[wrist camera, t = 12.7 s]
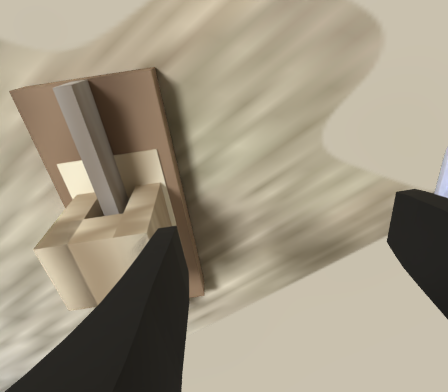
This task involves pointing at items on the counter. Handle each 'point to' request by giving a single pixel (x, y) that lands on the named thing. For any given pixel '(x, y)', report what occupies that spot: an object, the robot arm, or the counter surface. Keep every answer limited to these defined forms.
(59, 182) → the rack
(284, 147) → the counter surface
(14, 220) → the counter surface
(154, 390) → the robot arm
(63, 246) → the clip
